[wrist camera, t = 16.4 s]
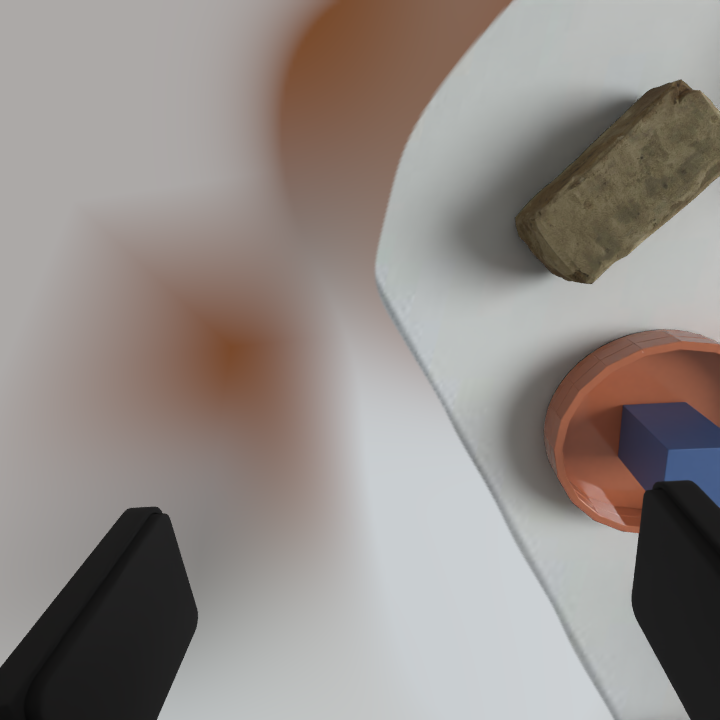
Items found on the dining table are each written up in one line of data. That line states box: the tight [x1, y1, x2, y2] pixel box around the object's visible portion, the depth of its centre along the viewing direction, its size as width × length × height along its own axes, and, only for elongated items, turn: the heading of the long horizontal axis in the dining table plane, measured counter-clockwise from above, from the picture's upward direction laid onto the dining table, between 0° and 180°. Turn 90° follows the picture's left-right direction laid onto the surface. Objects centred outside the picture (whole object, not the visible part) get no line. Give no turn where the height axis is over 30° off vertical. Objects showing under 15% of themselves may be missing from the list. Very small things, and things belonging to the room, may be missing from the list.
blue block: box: [618, 402, 720, 508], centre depth 33 cm, size 4×4×6 cm
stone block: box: [515, 80, 720, 284], centre depth 29 cm, size 6×12×5 cm, turn 137°
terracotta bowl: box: [544, 330, 720, 533], centre depth 36 cm, size 15×15×3 cm
